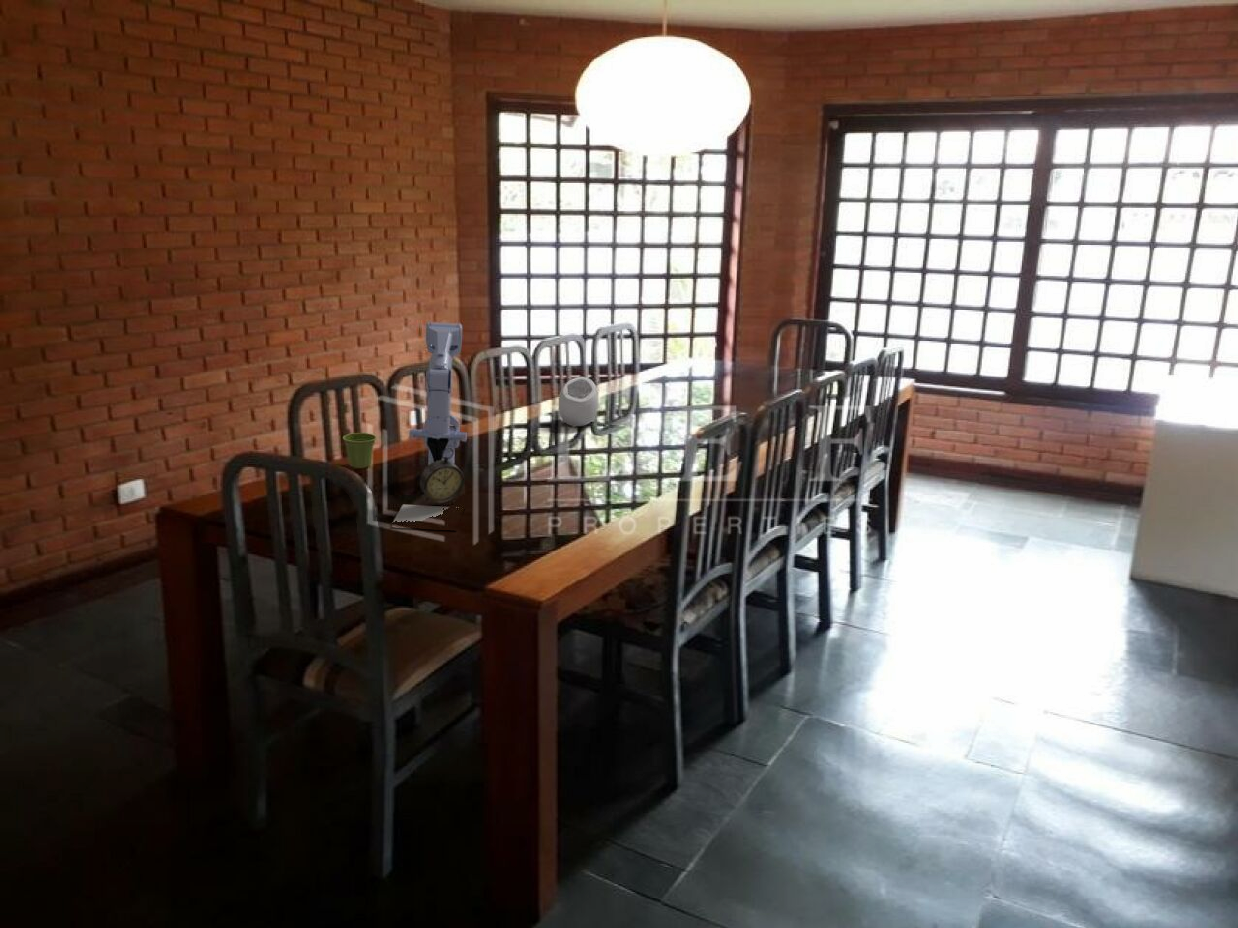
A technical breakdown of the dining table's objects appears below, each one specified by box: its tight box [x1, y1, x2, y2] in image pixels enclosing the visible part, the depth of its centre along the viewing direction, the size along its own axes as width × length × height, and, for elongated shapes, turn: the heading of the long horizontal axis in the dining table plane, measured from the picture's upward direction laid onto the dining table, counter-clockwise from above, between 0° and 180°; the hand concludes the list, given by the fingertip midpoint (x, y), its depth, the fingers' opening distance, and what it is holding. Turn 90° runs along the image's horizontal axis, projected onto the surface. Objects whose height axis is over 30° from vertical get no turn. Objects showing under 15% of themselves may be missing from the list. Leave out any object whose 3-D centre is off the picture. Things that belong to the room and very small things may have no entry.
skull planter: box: [558, 376, 599, 428], centre depth 340 cm, size 14×20×19 cm
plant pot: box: [342, 432, 377, 469], centre depth 275 cm, size 9×9×9 cm
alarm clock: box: [419, 448, 465, 505], centre depth 245 cm, size 11×5×16 cm, turn 124°
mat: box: [392, 503, 457, 523], centre depth 239 cm, size 16×16×1 cm
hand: (437, 465), depth 248 cm, fingers closed
